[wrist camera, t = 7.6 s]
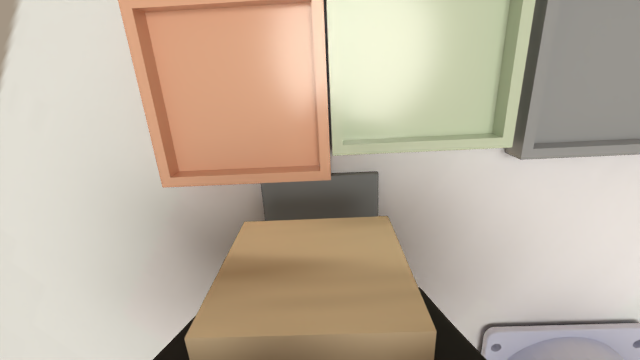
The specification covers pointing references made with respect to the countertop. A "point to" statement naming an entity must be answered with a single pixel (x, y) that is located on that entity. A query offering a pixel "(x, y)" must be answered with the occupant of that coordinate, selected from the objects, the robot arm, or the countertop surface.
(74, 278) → the countertop surface
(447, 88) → the sage dish
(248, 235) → the letter cube
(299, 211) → the slate mat
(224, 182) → the terracotta dish
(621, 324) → the robot arm
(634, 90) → the charcoal dish
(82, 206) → the countertop surface
